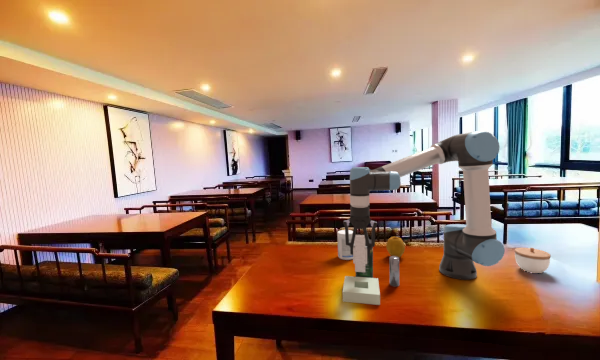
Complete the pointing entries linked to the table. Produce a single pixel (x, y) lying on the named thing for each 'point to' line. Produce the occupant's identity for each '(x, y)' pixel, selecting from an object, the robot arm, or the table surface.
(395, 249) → the apple
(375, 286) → the socket block
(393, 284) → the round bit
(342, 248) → the supplement tub
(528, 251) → the dishware bowl
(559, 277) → the table surface
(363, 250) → the square bit
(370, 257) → the coffee jar
